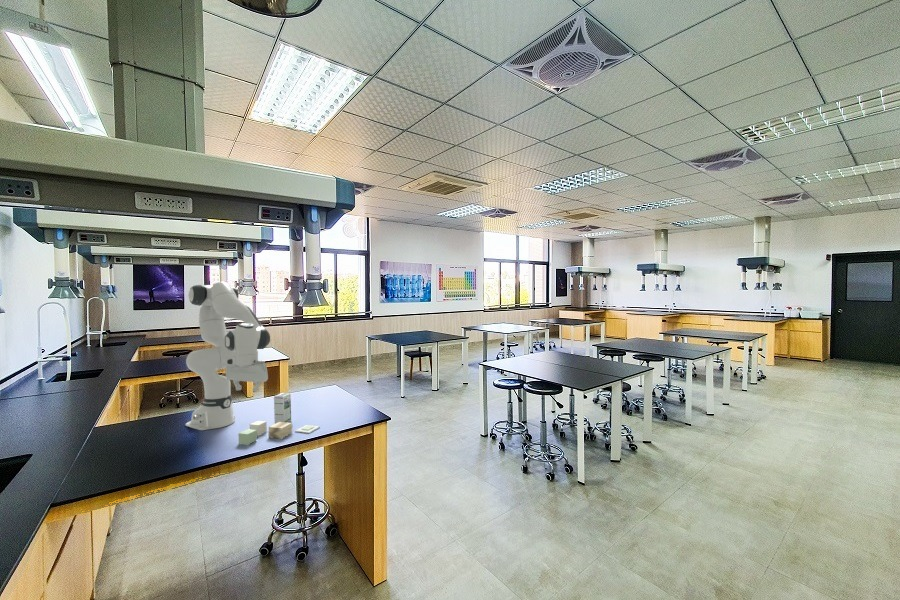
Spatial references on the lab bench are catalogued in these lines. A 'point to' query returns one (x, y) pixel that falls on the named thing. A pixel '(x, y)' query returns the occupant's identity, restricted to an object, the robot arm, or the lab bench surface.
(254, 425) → the off-white block
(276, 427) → the birch base block
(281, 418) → the syrup box
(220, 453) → the lab bench surface
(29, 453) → the lab bench surface
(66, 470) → the lab bench surface
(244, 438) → the sage block
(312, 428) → the tile
